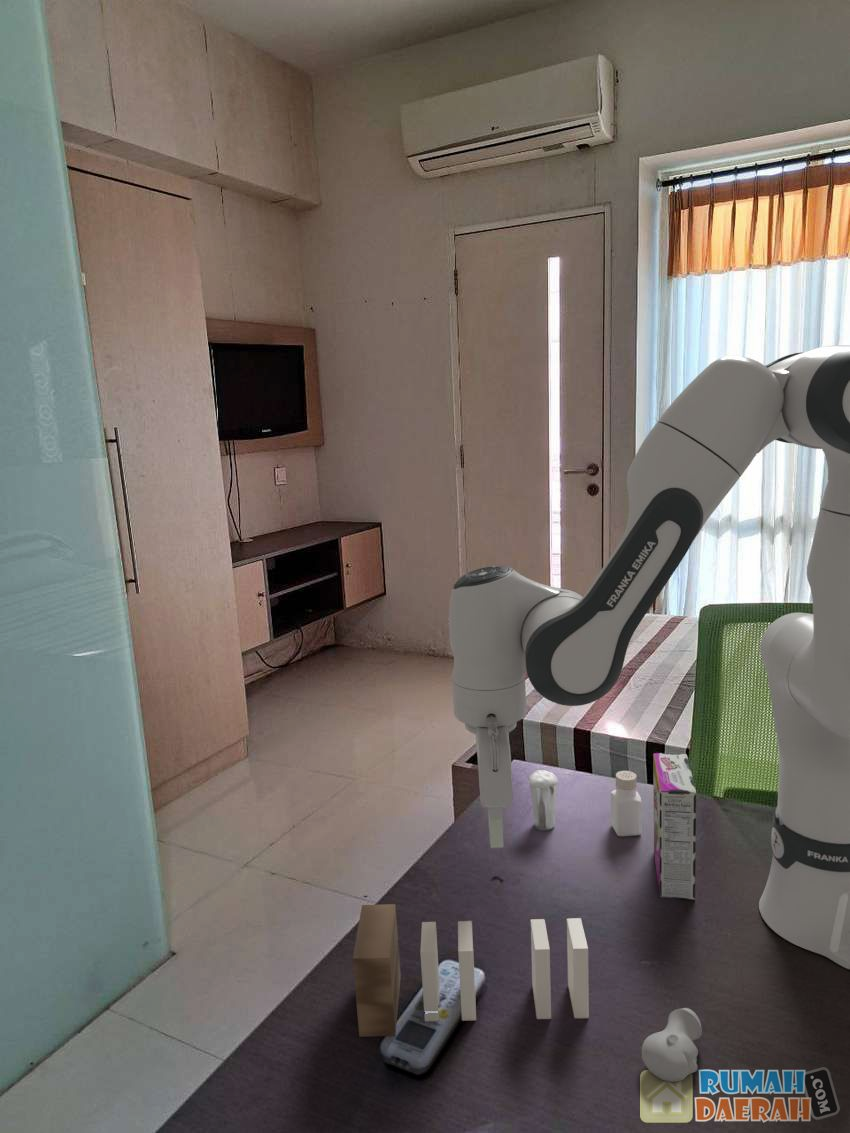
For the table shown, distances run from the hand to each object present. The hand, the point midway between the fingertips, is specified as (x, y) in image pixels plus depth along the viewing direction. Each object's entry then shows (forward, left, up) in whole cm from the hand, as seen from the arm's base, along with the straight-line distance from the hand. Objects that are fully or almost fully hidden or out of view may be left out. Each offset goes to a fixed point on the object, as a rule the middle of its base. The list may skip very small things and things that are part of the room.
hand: (494, 803), depth 98 cm
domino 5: (-8, +12, -19) cm, 24 cm away
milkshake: (-8, -25, -19) cm, 32 cm away
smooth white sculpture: (-17, +20, -19) cm, 33 cm away
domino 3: (0, 0, -5) cm, 5 cm away
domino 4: (-4, +12, -19) cm, 22 cm away
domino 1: (+9, +12, -19) cm, 24 cm away
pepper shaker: (-21, -23, -19) cm, 37 cm away
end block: (+15, +12, -19) cm, 26 cm away
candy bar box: (-25, -11, -19) cm, 33 cm away
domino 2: (+4, +12, -19) cm, 23 cm away
